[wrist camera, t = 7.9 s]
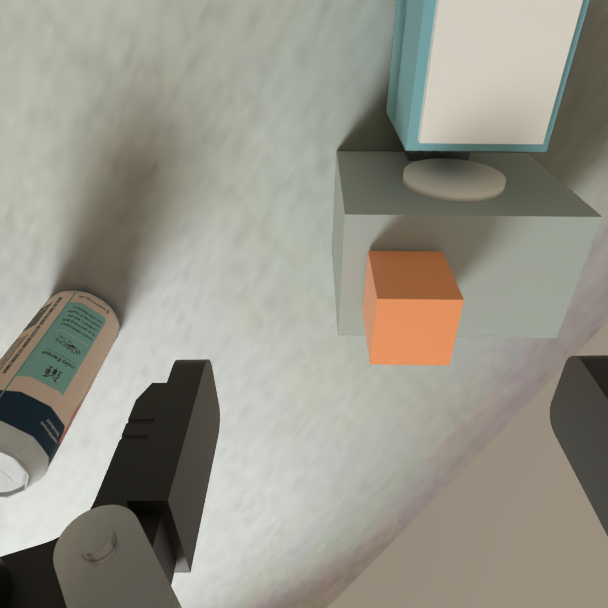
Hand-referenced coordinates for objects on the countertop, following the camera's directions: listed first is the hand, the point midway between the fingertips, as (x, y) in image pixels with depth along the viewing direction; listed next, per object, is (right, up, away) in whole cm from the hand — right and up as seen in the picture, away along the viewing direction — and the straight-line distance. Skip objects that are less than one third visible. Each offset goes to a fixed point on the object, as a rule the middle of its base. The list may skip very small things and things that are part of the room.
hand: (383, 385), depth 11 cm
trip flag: (+2, +3, +9) cm, 10 cm away
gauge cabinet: (+5, +7, +16) cm, 18 cm away
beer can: (-16, +1, +21) cm, 27 cm away
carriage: (+5, +14, +11) cm, 19 cm away
